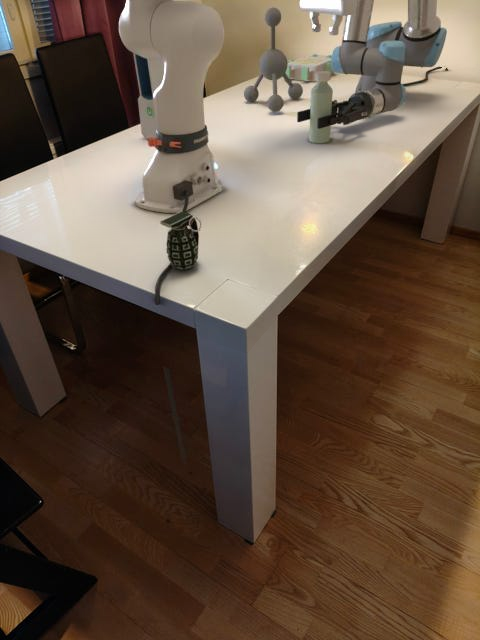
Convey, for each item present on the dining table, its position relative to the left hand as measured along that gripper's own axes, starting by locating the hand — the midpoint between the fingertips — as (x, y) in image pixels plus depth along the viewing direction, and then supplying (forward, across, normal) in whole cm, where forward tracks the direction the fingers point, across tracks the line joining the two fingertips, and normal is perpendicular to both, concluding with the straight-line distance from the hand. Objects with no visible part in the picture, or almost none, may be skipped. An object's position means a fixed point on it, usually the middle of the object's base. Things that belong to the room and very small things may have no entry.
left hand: (324, 33), depth 128 cm
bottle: (+28, 0, 0) cm, 28 cm away
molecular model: (+28, -42, +11) cm, 52 cm away
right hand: (+21, +1, -5) cm, 22 cm away
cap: (+10, 0, 0) cm, 10 cm away
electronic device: (+28, -30, -38) cm, 56 cm away
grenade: (+28, +45, -62) cm, 81 cm away
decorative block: (+28, -72, +46) cm, 90 cm away
